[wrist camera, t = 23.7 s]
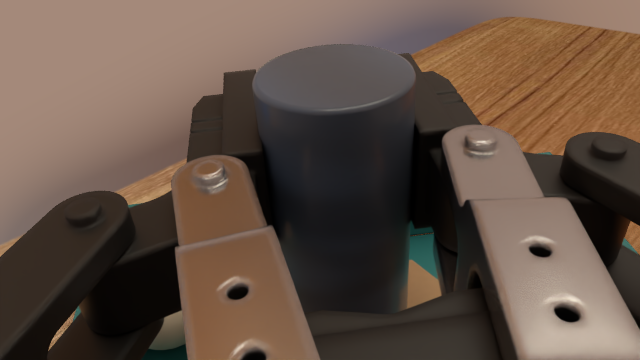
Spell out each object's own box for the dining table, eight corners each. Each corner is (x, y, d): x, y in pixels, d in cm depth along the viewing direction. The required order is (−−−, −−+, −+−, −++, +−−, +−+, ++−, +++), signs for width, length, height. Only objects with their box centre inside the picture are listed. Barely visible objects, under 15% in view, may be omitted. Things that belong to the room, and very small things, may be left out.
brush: (265, 599, 12) (152, 225, 6) (191, 459, 15) (63, 105, 9) (503, 403, 16) (581, 42, 10) (408, 318, 19) (422, -4, 13)
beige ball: (95, 265, 19) (144, 332, 20) (89, 313, 16) (146, 388, 17) (180, 220, 19) (222, 288, 21) (189, 258, 16) (237, 335, 18)
